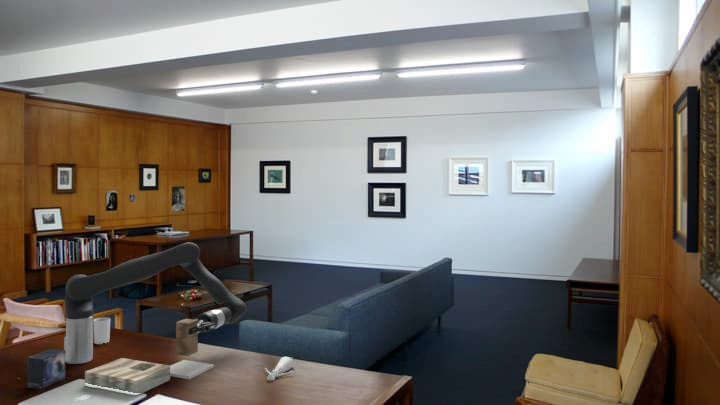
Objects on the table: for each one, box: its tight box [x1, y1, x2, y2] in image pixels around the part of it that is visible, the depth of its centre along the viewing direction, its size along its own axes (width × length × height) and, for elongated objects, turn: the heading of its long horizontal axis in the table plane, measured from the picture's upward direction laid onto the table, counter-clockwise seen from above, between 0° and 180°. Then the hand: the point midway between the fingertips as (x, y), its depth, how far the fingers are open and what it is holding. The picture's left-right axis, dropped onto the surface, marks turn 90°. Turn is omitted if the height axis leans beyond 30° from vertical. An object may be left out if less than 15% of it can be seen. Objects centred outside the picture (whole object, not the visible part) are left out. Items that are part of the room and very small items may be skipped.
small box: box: [26, 348, 66, 390], centre depth 179 cm, size 11×6×10 cm, turn 168°
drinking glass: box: [93, 317, 111, 345], centre depth 227 cm, size 7×7×10 cm
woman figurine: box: [264, 356, 295, 382], centre depth 193 cm, size 12×4×18 cm
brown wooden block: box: [175, 318, 199, 357], centre depth 194 cm, size 5×5×12 cm
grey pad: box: [169, 359, 215, 380], centre depth 194 cm, size 14×14×1 cm
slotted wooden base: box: [84, 357, 171, 394], centre depth 180 cm, size 22×16×5 cm
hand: (182, 331), depth 191 cm, fingers closed on brown wooden block, 5 cm apart
